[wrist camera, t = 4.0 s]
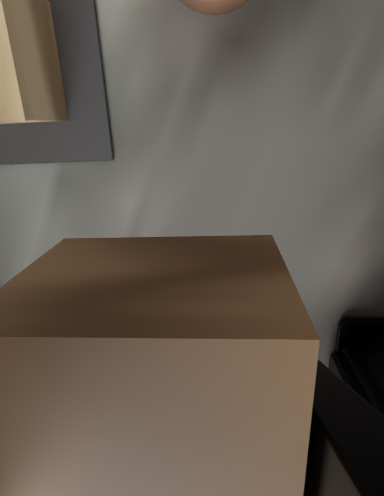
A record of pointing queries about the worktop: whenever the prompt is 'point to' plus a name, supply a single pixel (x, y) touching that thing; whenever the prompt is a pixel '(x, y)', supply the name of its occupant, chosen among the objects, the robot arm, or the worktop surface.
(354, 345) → the robot arm
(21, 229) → the worktop surface
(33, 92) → the maple cube
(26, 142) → the pad
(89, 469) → the walnut cube
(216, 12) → the peach rounded piece
